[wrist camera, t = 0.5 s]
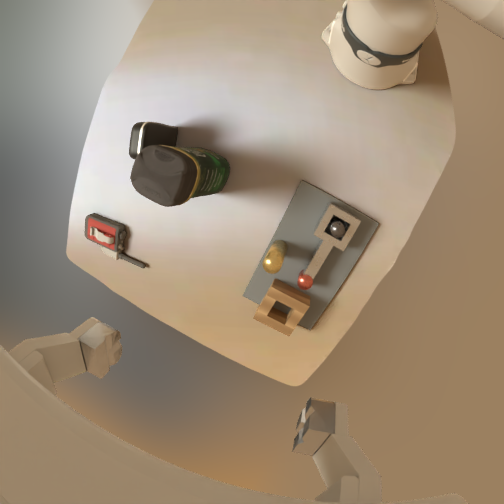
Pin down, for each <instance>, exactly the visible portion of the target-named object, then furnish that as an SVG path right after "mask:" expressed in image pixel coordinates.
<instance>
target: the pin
mask: <svg viewBox="0 0 504 504" xmlns="http://www.w3.org/2000/svg"><path fill="white" fill-rule="evenodd" d="M287 249H288V247H287V244H286V243H285V242H284V241H283V240H276V241H274V242H273V244H272V246H271V247H270V249H269V251H268V253H267V255H266V257H265V258H264V260H263V264H262V265H263V268H264V270H265V271H266V272H268V273H270V274H275V273H277V272H279V271H280V269H281V266H282V264H283V261H284V258H285V255H286V252H287Z"/></svg>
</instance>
